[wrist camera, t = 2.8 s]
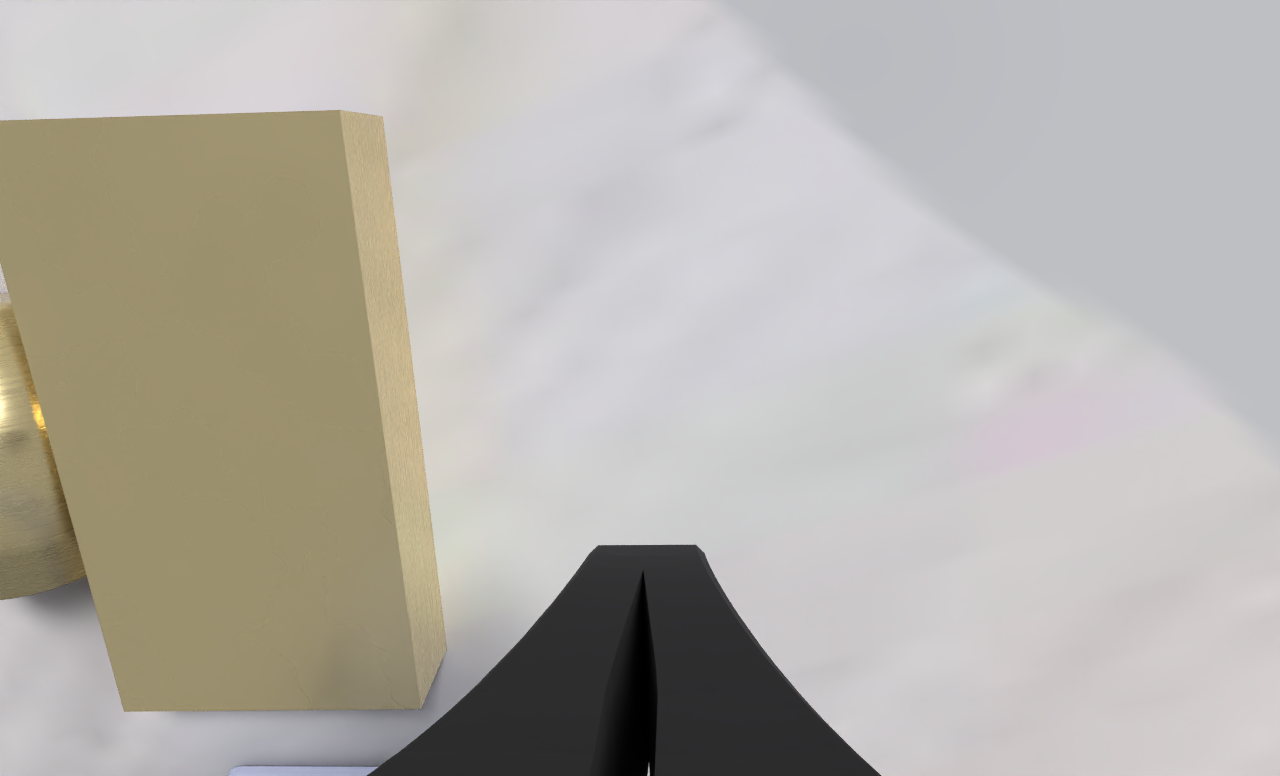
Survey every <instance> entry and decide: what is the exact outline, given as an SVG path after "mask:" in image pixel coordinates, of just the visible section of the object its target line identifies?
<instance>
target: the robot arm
mask: <svg viewBox="0 0 1280 776" xmlns="http://www.w3.org/2000/svg"><path fill="white" fill-rule="evenodd" d="M648 765H649V767H650V776H881V775H880V774H879V773H878V772H877V771H876V770H875V769H873V768H872V767H871V766H870V765H869V764H868V763H867V762H866V761H865V760H864V759H863V758H861V757H860V756H859V755H858V754H857V753H856V752H855V751H854V750H853V749H852V748H851V747H850V746H849V745H848V744H847V743H846V742H845V741H844V740H843V739H842V738H841V737H840V736H839V735H838V734H837V733H836V732H835V731H834V730H833V729H832V728H831V727H830V726H829V725H828V724H827V723H826V722H825V721H824V720H823V719H822V718H821V717H820V716H819V714H818V713H817V712H816V711H815V710H814V709H813V708H812V707H811V706H810V705H809V704H808V702H807V701H806V700H805V699H804V698H803V697H802V696H801V695H800V693H799V692H798V691H797V690H796V689H795V688H794V686H793V685H792V684H791V683H790V682H789V680H788V679H787V678H786V677H785V676H784V674H783V673H782V672H781V671H780V670H779V668H778V667H777V666H776V665H775V664H774V662H773V661H772V660H771V659H770V657H769V656H768V655H767V653H766V652H765V651H764V649H763V648H762V647H761V646H760V644H759V643H758V641H757V640H756V639H755V637H754V636H753V634H752V633H751V632H750V630H749V629H748V627H747V626H746V625H745V623H744V622H743V620H742V619H741V618H740V616H739V615H738V613H737V612H736V610H735V609H734V607H733V606H732V604H731V603H730V601H729V599H728V598H727V596H726V594H725V593H724V591H723V589H722V588H721V586H720V584H719V583H718V581H717V579H716V577H715V575H714V574H713V572H712V570H711V568H710V566H709V563H708V561H707V559H706V556H705V553H704V552H703V551H702V550H701V549H700V548H699V547H698V546H696V545H598V546H597V547H596V548H595V549H594V550H593V551H592V552H591V553H590V554H589V555H588V557H587V558H586V559H585V561H584V562H583V564H582V565H581V566H580V568H579V569H578V570H577V572H576V573H575V575H574V576H573V577H572V578H571V580H570V581H569V582H568V584H567V585H566V586H565V588H564V589H563V590H562V591H561V593H560V594H559V595H558V596H557V598H556V599H555V600H554V601H553V603H552V604H551V605H550V606H549V607H548V609H547V610H546V611H545V612H544V613H543V614H542V616H541V617H540V618H539V619H538V620H537V621H536V623H535V624H534V625H533V626H532V627H531V629H530V630H529V631H528V632H527V633H526V634H525V635H524V637H523V638H522V639H521V640H520V641H519V642H518V643H517V644H516V645H515V646H514V647H513V648H512V649H511V651H510V652H509V653H508V654H507V655H506V656H505V657H504V658H503V659H502V660H501V661H500V662H499V663H498V664H497V665H496V666H495V667H494V668H493V669H492V670H491V671H490V672H489V673H488V674H487V675H486V676H485V677H484V678H483V679H482V680H481V681H480V682H479V683H478V684H477V685H476V686H475V687H474V688H473V689H472V690H471V691H470V692H469V693H468V694H467V695H466V696H465V697H464V698H463V699H461V700H460V701H459V702H458V703H457V704H456V705H455V706H454V707H453V708H452V709H451V710H449V711H448V712H447V713H446V714H445V715H444V716H443V717H442V718H440V719H439V720H438V721H437V722H436V723H435V724H433V725H432V726H431V727H430V728H429V729H427V730H426V731H425V732H424V733H423V734H421V735H420V736H419V737H418V738H417V739H415V740H414V741H413V742H411V743H410V744H409V745H408V746H406V747H405V748H404V749H403V750H401V751H400V752H399V753H397V754H396V755H394V756H393V757H392V758H390V759H389V760H387V761H386V762H385V763H383V764H382V765H381V766H379V767H311V766H239V767H235V768H233V769H231V770H230V771H229V773H228V774H227V775H226V776H647V773H648Z"/></svg>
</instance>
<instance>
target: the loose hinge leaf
mask: <svg viewBox="0 0 1280 776" xmlns="http://www.w3.org/2000/svg"><path fill="white" fill-rule="evenodd" d="M0 263H1V267H2V270H3V274H4V278H5V281H6V285H7V289H8V292H9V293H0V600H5V599H12V598H18V597H23V596H28V595H32V594H36V593H40V592H44V591H47V590H50V589H54V588H57V587H60V586H63V585H66V584H68V583H71V582H73V581H76V580H78V579H81V578H83V577H85V576H87V579H88V582H89V586H90V590H91V593H92V597H93V601H94V604H95V608H96V611H97V615H98V619H99V622H100V626H101V630H102V633H103V637H104V640H105V644H106V648H107V651H108V655H109V659H110V662H111V666H112V669H113V673H114V677H115V680H116V684H117V688H118V691H119V695H120V698H121V702H122V706H123V709H124V712H129V711H255V710H380V709H421V708H422V706H423V704H424V701H425V699H426V697H427V694H428V692H429V690H430V687H431V685H432V683H433V680H434V678H435V675H436V673H437V671H438V668H439V666H440V664H441V661H442V659H443V657H444V654H445V652H446V650H447V647H446V639H445V630H444V622H443V614H442V605H441V597H440V589H439V580H438V572H437V564H436V556H435V547H434V539H433V531H432V522H431V514H430V506H429V497H428V489H427V481H426V472H425V464H424V456H423V448H422V439H421V431H420V423H419V414H418V406H417V398H416V389H415V381H414V373H413V365H412V356H411V348H410V340H409V331H408V323H407V315H406V306H405V298H404V290H403V281H402V273H401V265H400V257H399V248H398V240H397V232H396V223H395V215H394V207H393V198H392V190H391V182H390V173H389V165H388V157H387V149H386V140H385V132H384V124H383V116H376V115H369V114H362V113H356V112H349V111H342V110H328V111H296V112H264V113H232V114H200V115H168V116H136V117H104V118H72V119H40V120H8V121H0Z"/></svg>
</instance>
